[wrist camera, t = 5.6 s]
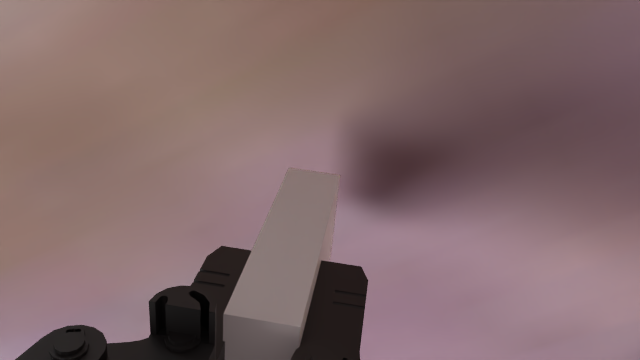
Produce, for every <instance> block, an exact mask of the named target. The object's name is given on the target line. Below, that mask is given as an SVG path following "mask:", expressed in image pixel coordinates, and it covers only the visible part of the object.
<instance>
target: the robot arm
mask: <svg viewBox="0 0 640 360" xmlns="http://www.w3.org/2000/svg"><path fill="white" fill-rule="evenodd" d="M339 181H340V175H336V174H329V173H322V172H315V171H308V170H301V169H295V168H289V169H288V171H287V173H286V175H285V178H284V180H283V182H282V184H281V187H280V189H279V191H278V193H277V195H276V198H275V200H274V202H273V204H272V207H271V209H270V211H269V213H268V216H267V218H266V220H265V222H264V224H263V227H262V229H261V231H260V233H259V236H258V238H257V240H256V242H255V245H254V247H253V249H252V251H250V250H244V249H238V248H231V247H225V246H221V247H220V248H218V249H217V250H215V251H214V252H213V253H211V254H210V255H208V256H207V258H206V260H205V261H204V263H203V265H202V267H201V268H200V272H198V274H197V276H196V277H195V279H194V283H192V285H191V286H176V287H172V288H167V289H165V290H163V291H161V292H159V293H157V294H156V295H155V296H154V297H153V298H152V299H151V300H150V301H149V313H150V331H151V334H150V336H149V338H146V339H143V340H140V341H133V342H123V343H109V344H107V341H106V339H105V337H104V335H103V333H102V332H100V331H99V330H97V329H96V328H94V327H89V326H84V325H74V326H66V327H63V328H60V329H57V330H54V331H52V332H51V333H49V334H47V335H46V336H44V337H43V338H41V339H40V340H39V341H38V342H36V343H35V344H34V345H33V346H31V347H30V348H29V349H28V350H27V351H25V352H24V353H23V354H22V355H20V356H19V357H18V358H17V359H15V360H360V353H359V351H360V343H361V335H362V326H363V318H364V310H365V302H366V293H367V285H368V280H367V277H366V275H365V273H364V271H363V269H362V267H360V266H353V265H347V264H341V263H334V262H329V260H330V256H331V249H332V241H333V232H334V224H335V215H336V207H337V198H338V190H339Z"/></svg>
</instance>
